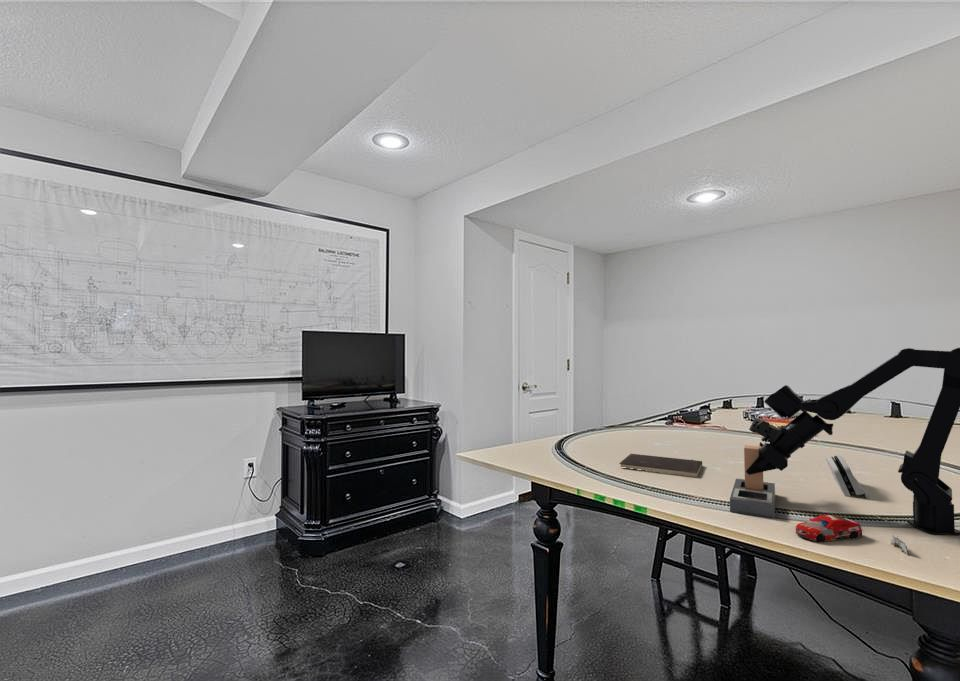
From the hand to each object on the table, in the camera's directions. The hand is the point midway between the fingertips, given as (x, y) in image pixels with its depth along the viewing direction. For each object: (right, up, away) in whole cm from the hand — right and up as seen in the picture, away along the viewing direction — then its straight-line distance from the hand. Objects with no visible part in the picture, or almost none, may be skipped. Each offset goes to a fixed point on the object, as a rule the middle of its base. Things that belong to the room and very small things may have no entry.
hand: (747, 471), depth 122 cm
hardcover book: (-11, -8, +31) cm, 33 cm away
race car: (+2, -7, -25) cm, 26 cm away
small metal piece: (+11, -6, -32) cm, 35 cm away
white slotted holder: (+30, -7, +6) cm, 31 cm away
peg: (+1, -7, -1) cm, 7 cm away
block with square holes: (-1, -7, -5) cm, 8 cm away
